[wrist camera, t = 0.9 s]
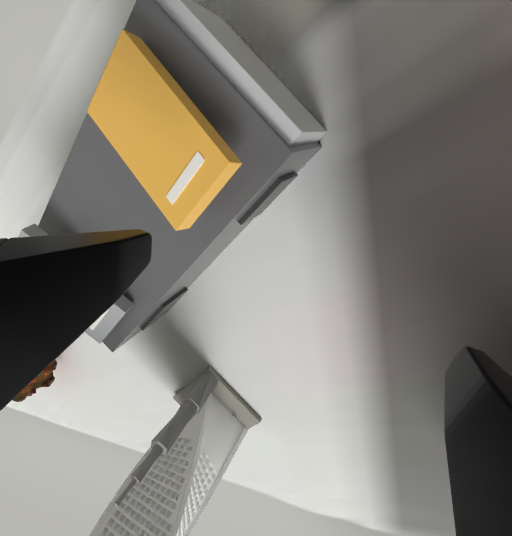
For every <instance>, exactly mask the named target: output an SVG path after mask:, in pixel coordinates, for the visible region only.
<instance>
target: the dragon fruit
mask: <svg viewBox="0 0 512 536" xmlns="http://www.w3.org/2000/svg"><path fill="white" fill-rule="evenodd" d="M56 366H57V362H56V360H54V361H53V362H52V363H51V364H49V365H48V366H47V367H46V368H45V369H44V370H43V371H42V372H41V373H40V374H39V375H38V376H37V377H36V378H35V379H34V380H32V381H31V382H30V383H29V384H28V385H27V386H26V387H25V388H24V389H23V390H22V391H21V392H20V393H19V394H18V395H17V396H15V397H14V398H13V399H12V400H13V401H16V402H21V401H23V400H25V398H26V397H27V396H31V395H32V394H35V393H36V388H39V387H49V386H50V385H51V384H52V383H53V381H54V379H55V377H54V376H53V372H52V371H53V370H55V369H56Z"/></svg>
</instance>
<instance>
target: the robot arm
mask: <svg viewBox="0 0 512 536" xmlns="http://www.w3.org/2000/svg"><path fill="white" fill-rule="evenodd" d="M151 254H152V236H151V234H150V233H149V232H146V231H143V230H140V229H130V230H116V231H102V232H88V233H74V234H60V235H46V236H32V237H18V238H10V239H7V238H3V239H0V410H2V409H3V408H4V407H5V406H6V405H7V404H8V403H9V402H10V401H11V400H12V399H13V398H14V397H15V396H17V395H18V394H19V393H20V392H21V391H22V390H23V389H24V388H25V387H26V386H27V385H28V384H29V383H30V382H31V381H32V380H34V379H35V378H36V377H37V376H38V375H39V374H40V373H41V372H42V371H43V370H44V369H45V368H46V367H47V366H48V365H49V364H51V363H52V362H53V361H54V360H55V359H56V358H57V357H58V356H59V355H60V354H61V353H62V352H63V351H64V350H65V349H66V348H68V347H69V346H70V345H71V344H72V343H73V342H74V341H75V340H76V339H77V338H78V337H79V336H80V335H81V334H82V333H83V332H85V331H86V330H87V329H88V328H89V327H90V326H91V325H92V324H93V323H94V322H95V321H96V320H97V319H98V318H99V317H101V316H102V315H103V314H104V313H105V312H106V311H107V310H108V309H109V308H110V307H111V306H112V305H113V304H114V303H115V302H116V301H117V300H118V299H119V298H120V297H121V296H122V295H123V294H124V293H125V292H126V291H127V289H128V288H129V287H130V286H131V285H132V283H133V282H134V281H135V280H136V279H137V278H138V276H139V275H140V274H141V273H142V272H143V271H144V269H145V268H146V267H147V266H148V265H149V263H150V261H151ZM444 432H445V443H446V452H447V460H448V469H449V478H450V486H451V495H452V504H453V513H454V521H455V530H456V536H512V377H511V376H509V375H508V374H507V373H506V372H505V371H504V370H503V369H502V368H501V367H500V366H498V365H497V364H496V363H495V362H494V361H493V360H492V359H491V358H490V357H489V356H487V355H486V354H485V353H484V352H482V351H480V350H477V349H474V348H471V347H468V346H466V347H463V348H462V349H461V350H460V351H459V353H458V354H457V355H456V357H455V358H454V360H453V361H452V363H451V364H450V365H449V367H448V368H447V370H446V373H445V399H444Z"/></svg>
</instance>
